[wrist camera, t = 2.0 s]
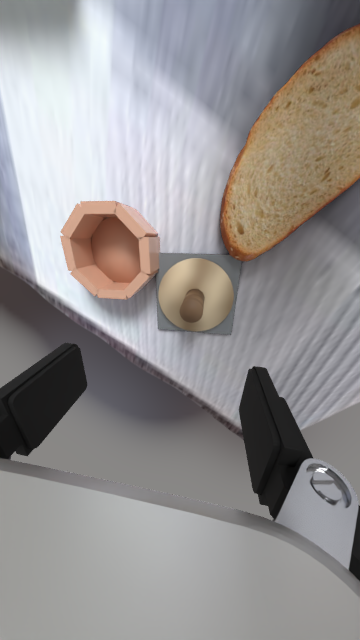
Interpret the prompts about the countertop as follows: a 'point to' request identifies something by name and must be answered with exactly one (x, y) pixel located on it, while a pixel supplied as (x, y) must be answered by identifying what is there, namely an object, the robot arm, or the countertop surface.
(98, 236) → the bowl
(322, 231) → the countertop surface
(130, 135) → the countertop surface
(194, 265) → the lid
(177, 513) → the robot arm
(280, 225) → the bread slice
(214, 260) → the mat
